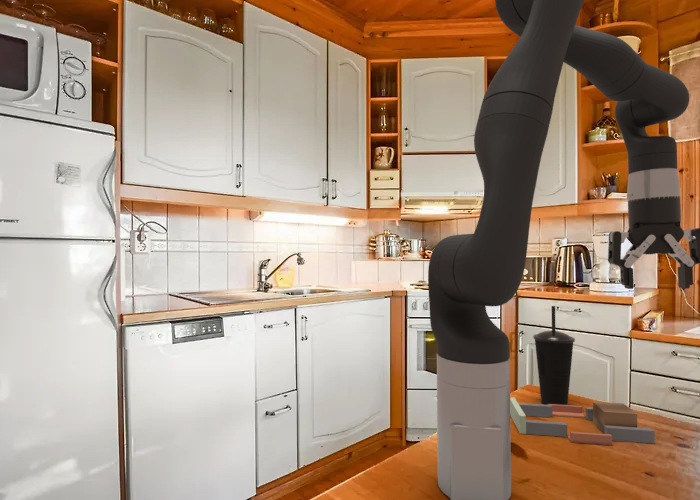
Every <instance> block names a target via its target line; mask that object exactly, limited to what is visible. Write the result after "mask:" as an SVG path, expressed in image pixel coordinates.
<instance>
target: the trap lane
mask: <svg viewBox="0 0 700 500" xmlns="http://www.w3.org/2000/svg"><path fill="white" fill-rule="evenodd" d="M518 404H519V406H520V407H521V409H522V411H523V412H524V414H525V415H526V417H539V418H553V416H554V417H568V418H583V419H586V420H588V421H593V406H592V407H591V406H590V407H589V406H585V410H584V409H583V405H574V404H573V405H572V404H568V405H559V404H548V405H544V404H542V403H529V402H528V403H527V402H526V403H525V402H518ZM583 410H584V411H585V412H584V411H583ZM569 432H570V433H569V434H568V424H567V423H566V422H564V421H563V422H561V421H548V420H547V421H546V420H536V419H535V420H534V419H533V420H530V419H526V434H525V435H535V436H549V437H562V438H563V437H564V438H568V440H569V441H570V442H571V443H574V442H575V443H577V444H588V445H599V446H600V445H601V446H613V441H615V442H616V441H617V442H626V443H627V442H629V443H642V444H654V445H655V444H656V441H655V440H656V439H655V437H656V435H655V433H656V432H655V430H654V429H653V428H648V427H638V426H637V427H622V426H607V425H604V434H603V433H595V432H581V431H569Z"/></svg>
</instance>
